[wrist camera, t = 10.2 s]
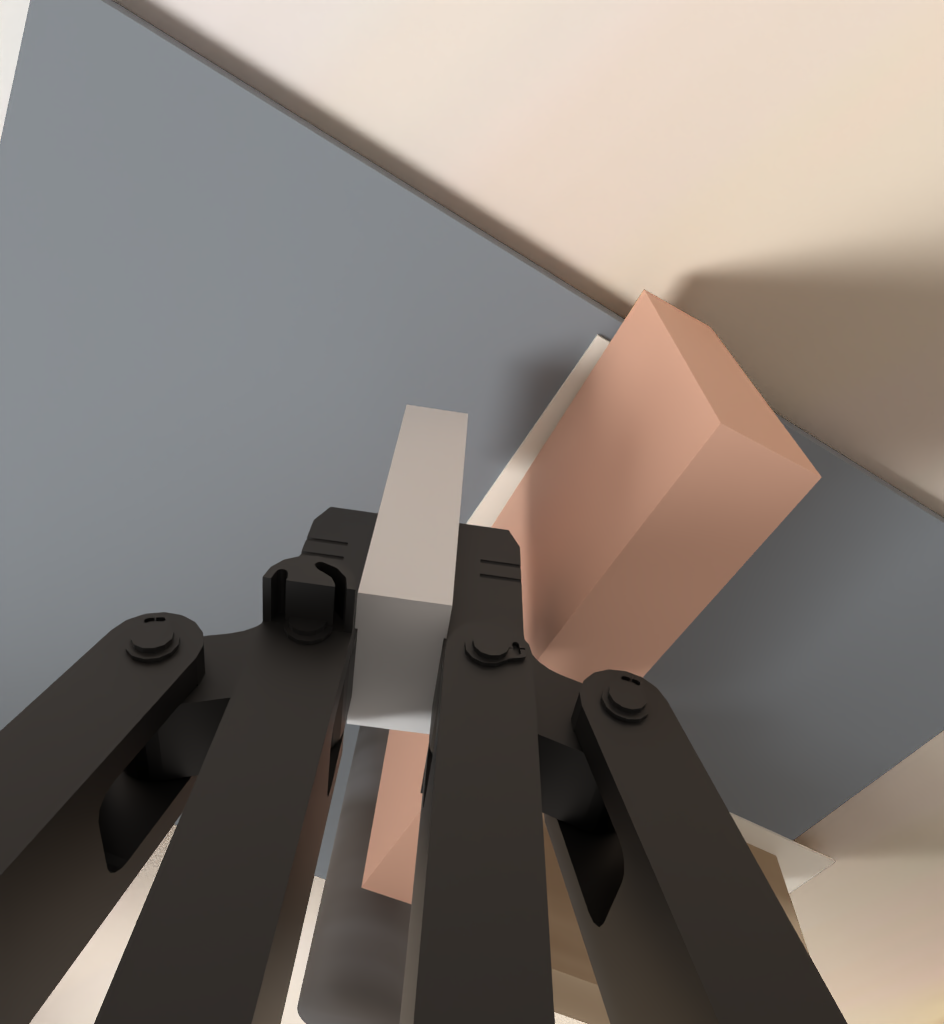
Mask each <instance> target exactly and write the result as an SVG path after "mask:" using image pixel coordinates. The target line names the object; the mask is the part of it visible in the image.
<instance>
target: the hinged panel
mask: <svg viewBox="0 0 944 1024" xmlns="http://www.w3.org/2000/svg"><path fill="white" fill-rule="evenodd" d="M820 479H821V476H820V474H819V473H818V471H817V470H816V469H815V467H814V466H813V465H812V463H811V462H810V461H809V459H808V458H807V457H806V455H805V454H804V453H803V451H802V450H801V448H800V447H799V446H798V444H797V443H796V442H795V440H794V439H793V438H792V436H791V435H790V434H789V432H788V431H787V430H786V428H785V427H784V425H783V424H782V423H781V421H780V420H779V419H778V417H777V416H776V415H775V413H774V412H773V411H772V409H771V408H770V407H769V405H768V404H767V403H766V401H765V400H764V398H763V397H762V396H761V394H760V393H759V392H758V390H757V389H756V388H755V386H754V385H753V384H752V382H751V381H750V380H749V378H748V377H747V375H746V374H745V373H744V371H743V370H742V369H741V367H740V366H739V365H738V363H737V362H736V361H735V359H734V358H733V357H732V355H731V354H730V353H729V351H728V350H727V348H726V347H725V346H724V344H723V343H722V342H721V340H720V339H719V338H718V336H717V335H716V334H715V332H714V331H713V330H712V328H711V327H709V326H708V325H706V324H704V323H702V322H701V321H699V320H697V319H695V318H694V317H692V316H690V315H688V314H687V313H685V312H683V311H681V310H679V309H678V308H676V307H674V306H672V305H671V304H669V303H667V302H665V301H664V300H662V299H660V298H658V297H657V296H655V295H653V294H651V293H649V292H648V291H646V290H643V292H642V293H641V295H640V296H639V298H638V300H637V301H636V303H635V304H634V306H633V307H632V309H631V310H630V312H629V314H628V315H627V317H626V318H625V320H624V321H623V323H622V324H621V326H620V328H619V329H618V331H617V332H616V334H615V335H614V337H613V338H612V340H611V342H610V343H609V345H608V346H607V348H606V349H605V351H604V352H603V354H602V356H601V357H600V359H599V360H598V362H597V363H596V365H595V366H594V368H593V370H592V371H591V373H590V374H589V376H588V377H587V379H586V380H585V382H584V384H583V385H582V387H581V388H580V390H579V391H578V393H577V394H576V396H575V398H574V399H573V401H572V402H571V404H570V405H569V407H568V408H567V410H566V412H565V413H564V415H563V416H562V418H561V419H560V421H559V422H558V424H557V426H556V427H555V429H554V430H553V432H552V433H551V435H550V436H549V438H548V440H547V441H546V443H545V444H544V446H543V447H542V449H541V450H540V452H539V454H538V455H537V457H536V458H535V460H534V461H533V463H532V464H531V466H530V468H529V469H528V471H527V472H526V474H525V475H524V477H523V478H522V480H521V482H520V483H519V485H518V486H517V488H516V489H515V491H514V492H513V494H512V496H511V497H510V499H509V500H508V502H507V503H506V505H505V507H504V508H503V510H502V511H501V513H500V514H499V516H498V517H497V519H496V521H495V522H494V524H493V525H492V527H491V528H498V529H505V530H509V531H510V533H511V534H512V536H513V537H514V539H515V540H516V542H517V543H518V545H519V546H520V557H521V567H520V568H521V583H522V604H523V628H524V638H525V641H526V642H527V643H528V644H529V646H530V649H531V652H532V655H533V656H534V657H535V658H536V659H537V660H538V661H539V662H540V663H541V664H543V665H544V666H546V667H547V668H548V669H550V670H552V671H554V672H556V673H558V674H560V675H563V676H565V677H568V678H570V679H573V680H576V681H578V682H581V683H583V681H584V680H585V679H586V678H587V677H589V676H590V675H591V674H593V673H594V672H599V671H603V670H608V669H611V670H621V671H627V672H629V673H632V674H635V675H637V676H640V677H642V678H643V676H644V675H645V674H646V673H647V672H648V671H649V670H650V669H651V668H652V666H653V665H654V664H655V663H656V662H657V661H658V660H659V659H660V657H661V656H662V655H663V654H664V653H665V652H666V651H667V650H668V649H669V647H670V646H671V645H672V644H673V643H674V642H675V641H676V640H677V638H678V637H679V636H680V635H681V634H682V633H683V632H684V631H685V630H686V628H687V627H688V626H689V625H690V624H691V623H692V622H693V621H694V619H695V618H696V617H697V616H698V615H699V614H700V613H701V612H702V611H703V609H704V608H705V607H706V606H707V605H708V604H709V603H710V602H711V600H712V599H713V598H714V597H715V596H716V595H717V594H718V593H719V592H720V590H721V589H722V588H723V587H724V586H725V585H726V584H727V583H728V581H729V580H730V579H731V578H732V577H733V576H734V575H735V574H736V572H737V571H738V570H739V569H740V568H741V567H742V566H743V565H744V564H745V562H746V561H747V560H748V559H749V558H750V557H751V556H752V555H753V553H754V552H755V551H756V550H757V549H758V548H759V547H760V546H761V545H762V543H763V542H764V541H765V540H766V539H767V538H768V537H769V536H770V534H771V533H772V532H773V531H774V530H775V529H776V528H777V527H778V526H779V524H780V523H781V522H782V521H783V520H784V519H785V518H786V517H787V515H788V514H789V513H790V512H791V511H792V510H793V509H794V508H795V507H796V505H797V504H798V503H799V502H800V501H801V500H802V499H803V498H804V496H805V495H806V494H807V493H808V492H809V491H810V490H811V489H812V488H813V486H814V485H815V484H816V483H817V482H818V481H819V480H820ZM428 745H429V734H423V733H415V732H407V731H399V730H391V729H389V735H388V740H387V746H386V752H385V757H384V763H383V769H382V774H381V780H380V785H379V791H378V797H377V802H376V808H375V814H374V819H373V825H372V830H371V836H370V842H369V847H368V853H367V858H366V864H365V870H364V875H363V881H362V887H361V888H364V889H367V890H370V891H373V892H376V893H379V894H382V895H385V896H388V897H391V898H394V899H397V900H400V901H403V902H406V903H409V904H412V894H413V884H414V874H415V864H416V854H417V844H418V834H419V823H420V813H421V803H422V793H420V792H421V786H422V780H423V774H424V768H425V763H426V757H427V751H428Z"/></svg>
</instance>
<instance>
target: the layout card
mask: <svg viewBox="0 0 944 1024" xmlns="http://www.w3.org/2000/svg"><path fill="white" fill-rule="evenodd" d="M624 320H625V319H623V318H622V317H620V316H619V315H617V314H615V313H614V312H612V311H611V310H609V309H607V308H606V307H604V306H602V305H601V304H599V303H598V302H596V301H594V300H593V299H591V298H590V297H588V296H586V295H585V294H583V293H582V292H580V291H578V290H577V289H575V288H574V287H572V286H570V285H569V284H567V283H566V282H564V281H562V280H561V279H559V278H558V277H556V276H554V275H553V274H551V273H549V272H548V271H546V270H545V269H543V268H541V267H540V266H538V265H537V264H535V263H533V262H532V261H530V260H529V259H527V258H525V257H524V256H522V255H521V254H519V253H517V252H516V251H514V250H513V249H511V248H509V247H508V246H506V245H505V244H503V243H501V242H500V241H498V240H496V239H495V238H493V237H492V236H490V235H488V234H487V233H485V232H484V231H482V230H480V229H479V228H477V227H476V226H474V225H472V224H471V223H469V222H468V221H466V220H464V219H463V218H461V217H460V216H458V215H456V214H455V213H453V212H451V211H450V210H448V209H447V208H445V207H443V206H442V205H440V204H439V203H437V202H435V201H434V200H432V199H431V198H429V197H427V196H426V195H424V194H423V193H421V192H419V191H418V190H416V189H415V188H413V187H411V186H410V185H408V184H407V183H405V182H403V181H402V180H400V179H398V178H397V177H395V176H394V175H392V174H390V173H389V172H387V171H386V170H384V169H382V168H381V167H379V166H378V165H376V164H374V163H373V162H371V161H370V160H368V159H366V158H365V157H363V156H362V155H360V154H358V153H357V152H355V151H354V150H352V149H350V148H349V147H347V146H345V145H344V144H342V143H341V142H339V141H337V140H336V139H334V138H333V137H331V136H329V135H328V134H326V133H325V132H323V131H321V130H320V129H318V128H317V127H315V126H313V125H312V124H310V123H309V122H307V121H305V120H304V119H302V118H301V117H299V116H297V115H296V114H294V113H292V112H291V111H289V110H288V109H286V108H284V107H283V106H281V105H280V104H278V103H276V102H275V101H273V100H272V99H270V98H268V97H267V96H265V95H264V94H262V93H260V92H259V91H257V90H256V89H254V88H252V87H251V86H249V85H247V84H246V83H244V82H243V81H241V80H239V79H238V78H236V77H235V76H233V75H231V74H230V73H228V72H227V71H225V70H223V69H222V68H220V67H219V66H217V65H215V64H214V63H212V62H211V61H209V60H207V59H206V58H204V57H203V56H201V55H199V54H198V53H196V52H194V51H193V50H191V49H190V48H188V47H186V46H185V45H183V44H182V43H180V42H178V41H177V40H175V39H174V38H172V37H170V36H169V35H167V34H166V33H164V32H162V31H161V30H159V29H158V28H156V27H154V26H153V25H151V24H150V23H148V22H146V21H145V20H143V19H141V18H140V17H138V16H137V15H135V14H133V13H132V12H130V11H129V10H127V9H125V8H124V7H122V6H121V5H119V4H117V3H116V2H114V1H113V0H30V4H29V9H28V14H27V19H26V23H25V28H24V33H23V37H22V42H21V47H20V52H19V56H18V61H17V66H16V70H15V75H14V80H13V85H12V89H11V94H10V99H9V103H8V108H7V113H6V118H5V122H4V127H3V132H2V136H1V141H0V731H1V730H2V729H3V728H4V727H5V726H6V725H7V724H8V723H9V722H11V721H12V720H13V719H14V718H15V717H16V716H17V715H18V714H19V713H20V712H22V711H23V710H24V709H25V708H26V707H27V706H28V705H29V704H30V703H31V702H33V701H34V700H35V699H36V698H37V697H38V696H39V695H40V694H41V693H42V692H44V691H45V690H46V689H47V688H48V687H49V686H50V685H51V684H52V683H53V682H55V681H56V680H57V679H58V678H59V677H60V676H61V675H62V674H63V673H64V672H66V671H67V670H68V669H69V668H70V667H71V666H72V665H73V664H74V663H75V662H77V661H78V660H79V659H80V658H81V657H82V656H83V655H84V654H85V653H86V652H88V651H89V650H90V649H91V648H92V647H93V646H94V645H95V644H96V643H97V642H99V641H100V640H101V639H102V638H103V637H104V636H105V635H106V634H107V633H108V632H110V631H111V630H112V629H113V628H115V627H116V626H118V625H119V624H121V623H122V622H124V621H126V620H127V619H131V618H134V617H137V616H140V615H143V614H147V613H159V612H167V613H173V614H179V615H183V616H185V617H187V618H189V619H191V620H192V621H194V622H196V624H197V625H198V626H199V628H200V629H201V630H202V632H203V636H208V635H218V634H229V633H234V632H240V631H245V630H247V629H250V628H253V627H256V626H258V625H260V624H261V623H262V621H263V589H262V577H263V576H264V574H265V573H266V572H267V571H268V569H269V568H270V567H271V566H273V565H275V564H277V563H279V562H280V561H282V560H284V559H289V558H293V557H298V556H300V554H301V551H302V548H303V546H304V543H305V541H306V540H307V536H308V533H309V531H310V528H311V526H312V523H313V520H314V519H316V518H317V517H318V516H319V515H321V514H322V513H323V512H324V511H326V510H327V509H328V508H330V507H337V508H344V509H351V510H358V511H365V512H372V513H379V509H380V505H381V501H382V497H383V494H384V490H385V486H386V482H387V478H388V474H389V471H390V467H391V463H392V459H393V455H394V451H395V447H396V444H397V440H398V436H399V432H400V428H401V424H402V421H403V417H404V413H405V409H406V405H413V406H420V407H426V408H433V409H440V410H446V411H453V412H460V413H466V414H468V422H467V434H466V446H465V458H464V470H463V482H462V494H461V506H460V518H459V523H462V524H470V525H477V526H484V527H492V525H493V524H494V522H495V521H496V519H497V517H498V516H499V514H500V513H501V511H502V510H503V508H504V507H505V505H506V503H507V502H508V500H509V499H510V497H511V496H512V494H513V492H514V491H515V489H516V488H517V486H518V485H519V483H520V482H521V480H522V478H523V477H524V475H525V474H526V472H527V471H528V469H529V468H530V466H531V464H532V463H533V461H534V460H535V458H536V457H537V455H538V454H539V452H540V450H541V449H542V447H543V446H544V444H545V443H546V441H547V440H548V438H549V436H550V435H551V433H552V432H553V430H554V429H555V427H556V426H557V424H558V422H559V421H560V419H561V418H562V416H563V415H564V413H565V412H566V410H567V408H568V407H569V405H570V404H571V402H572V401H573V399H574V398H575V396H576V394H577V393H578V391H579V390H580V388H581V387H582V385H583V384H584V382H585V380H586V379H587V377H588V376H589V374H590V373H591V371H592V370H593V368H594V366H595V365H596V363H597V362H598V360H599V359H600V357H601V356H602V354H603V352H604V351H605V349H606V348H607V346H608V345H609V343H610V342H611V340H612V338H613V337H614V335H615V334H616V332H617V331H618V329H619V328H620V326H621V324H622V323H623V321H624ZM775 415H776V416H777V417H778V419H779V420H780V421H781V423H782V424H783V425H784V427H785V428H786V430H787V431H788V432H789V434H790V435H791V436H792V438H793V439H794V440H795V442H796V443H797V444H798V446H799V447H800V448H801V450H802V451H803V453H804V454H805V455H806V457H807V458H808V459H809V461H810V462H811V463H812V465H813V466H814V467H815V469H816V470H817V471H818V473H819V474H820V476H821V479H820V480H819V481H818V482H817V483H816V484H815V485H814V486H813V488H812V489H811V490H810V491H809V492H808V493H807V494H806V495H805V496H804V498H803V499H802V500H801V501H800V502H799V503H798V504H797V505H796V507H795V508H794V509H793V510H792V511H791V512H790V513H789V514H788V515H787V517H786V518H785V519H784V520H783V521H782V522H781V523H780V524H779V526H778V527H777V528H776V529H775V530H774V531H773V532H772V533H771V534H770V536H769V537H768V538H767V539H766V540H765V541H764V542H763V543H762V545H761V546H760V547H759V548H758V549H757V550H756V551H755V552H754V553H753V555H752V556H751V557H750V558H749V559H748V560H747V561H746V562H745V564H744V565H743V566H742V567H741V568H740V569H739V570H738V571H737V572H736V574H735V575H734V576H733V577H732V578H731V579H730V580H729V581H728V583H727V584H726V585H725V586H724V587H723V588H722V589H721V590H720V592H719V593H718V594H717V595H716V596H715V597H714V598H713V599H712V600H711V602H710V603H709V604H708V605H707V606H706V607H705V608H704V609H703V611H702V612H701V613H700V614H699V615H698V616H697V617H696V618H695V619H694V621H693V622H692V623H691V624H690V625H689V626H688V627H687V628H686V630H685V631H684V632H683V633H682V634H681V635H680V636H679V637H678V638H677V640H676V641H675V642H674V643H673V644H672V645H671V646H670V647H669V649H668V650H667V651H666V652H665V653H664V654H663V655H662V656H661V657H660V659H659V660H658V661H657V662H656V663H655V664H654V665H653V666H652V668H651V669H650V670H649V671H648V672H647V673H646V674H645V675H644V676H643V678H644V679H645V680H647V681H648V682H650V683H651V684H652V685H654V686H655V687H657V689H658V690H659V691H660V692H661V694H662V695H663V696H664V697H665V698H666V700H667V701H668V703H669V705H670V707H671V708H672V710H673V712H674V714H675V716H676V717H677V719H678V721H679V723H680V725H681V726H682V728H683V730H684V732H685V734H686V735H687V737H688V739H689V741H690V743H691V744H692V746H693V748H694V750H695V752H696V753H697V755H698V757H699V759H700V760H701V762H702V764H703V766H704V768H705V769H706V771H707V773H708V775H709V777H710V778H711V780H712V782H713V784H714V786H715V787H716V789H717V791H718V793H719V795H720V796H721V798H722V800H723V802H724V803H725V805H726V807H727V809H728V811H729V812H730V814H731V816H732V818H733V820H734V821H735V823H736V825H737V827H738V829H739V830H740V832H741V834H742V836H743V838H744V839H745V841H746V843H748V844H751V845H753V846H755V847H758V848H760V849H762V850H764V851H767V852H769V853H771V854H773V855H776V857H777V860H778V863H779V866H780V869H781V872H782V875H783V878H784V881H785V884H786V887H787V890H788V893H791V892H792V891H794V890H795V889H797V888H798V887H800V886H801V885H803V884H804V883H805V882H807V881H808V880H810V879H811V878H813V877H814V876H816V875H817V874H819V873H820V872H822V871H823V870H824V869H826V868H827V867H829V866H830V865H832V864H833V863H835V860H834V859H832V858H830V857H828V856H826V855H824V854H821V853H819V852H817V851H815V850H812V849H810V848H808V847H806V846H804V845H801V844H799V843H797V842H795V841H793V840H794V839H796V838H797V837H798V836H800V835H801V834H802V833H804V832H805V831H807V830H808V829H809V828H811V827H812V826H813V825H815V824H816V823H818V822H819V821H820V820H822V819H823V818H824V817H826V816H827V815H828V814H830V813H831V812H833V811H834V810H835V809H837V808H838V807H839V806H841V805H842V804H843V803H845V802H846V801H848V800H849V799H850V798H852V797H853V796H854V795H856V794H857V793H859V792H860V791H861V790H863V789H864V788H865V787H867V786H868V785H869V784H871V783H872V782H874V781H875V780H876V779H878V778H879V777H880V776H882V775H883V774H884V773H886V772H887V771H889V770H890V769H891V768H893V767H894V766H895V765H897V764H898V763H900V762H901V761H902V760H904V759H905V758H906V757H908V756H909V755H910V754H912V753H913V752H915V751H916V750H917V749H919V748H920V747H921V746H923V745H924V744H925V743H927V742H928V741H930V740H931V739H932V738H934V737H935V736H936V735H938V734H939V733H940V732H942V731H943V730H944V518H943V517H941V516H940V515H938V514H937V513H935V512H933V511H932V510H930V509H929V508H927V507H925V506H924V505H922V504H921V503H919V502H917V501H916V500H914V499H912V498H911V497H909V496H908V495H906V494H904V493H903V492H901V491H900V490H898V489H896V488H895V487H893V486H892V485H890V484H888V483H887V482H885V481H884V480H882V479H880V478H879V477H877V476H876V475H874V474H872V473H871V472H869V471H868V470H866V469H864V468H863V467H861V466H859V465H858V464H856V463H855V462H853V461H851V460H850V459H848V458H847V457H845V456H843V455H842V454H840V453H839V452H837V451H835V450H834V449H832V448H831V447H829V446H827V445H826V444H824V443H823V442H821V441H819V440H818V439H816V438H815V437H813V436H811V435H810V434H808V433H806V432H805V431H803V430H802V429H800V428H798V427H797V426H795V425H794V424H792V423H790V422H789V421H787V420H786V419H784V418H782V417H781V416H779V415H778V414H776V413H775ZM359 728H360V725H353V724H347V720H346V724H345V729H344V738H343V750H342V756H341V760H340V765H339V769H338V773H337V778H336V782H335V786H334V791H333V795H332V800H331V804H330V808H329V813H328V817H327V822H326V826H325V830H324V835H323V839H322V844H321V848H320V852H319V857H318V861H317V866H316V870H315V874H314V876H317V877H320V878H323V879H325V880H326V876H327V872H328V867H329V863H330V858H331V854H332V849H333V845H334V840H335V836H336V831H337V827H338V822H339V818H340V813H341V809H342V804H343V800H344V795H345V791H346V786H347V782H348V777H349V773H350V768H351V764H352V759H353V755H354V750H355V746H356V741H357V737H358V732H359ZM181 815H182V814H181ZM181 815H180V817H181ZM180 817H179V818H178V819H177V821H176V822H175V823H174V824H175V825H177V824H178V822H179V820H180Z"/></svg>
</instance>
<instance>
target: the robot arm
mask: <svg viewBox="0 0 944 1024" xmlns="http://www.w3.org/2000/svg"><path fill="white" fill-rule="evenodd" d="M467 422H468V414H466V413H460V412H453V411H446V410H440V409H433V408H426V407H420V406H413V405H406V409H405V413H404V417H403V421H402V424H401V428H400V432H399V436H398V440H397V444H396V447H395V451H394V455H393V459H392V463H391V467H390V471H389V474H388V478H387V482H386V486H385V490H384V494H383V497H382V501H381V505H380V509H379V513H372V512H365V511H358V510H351V509H344V508H337V507H330V508H328V509H327V510H326V511H324V512H323V513H322V514H321V515H319V516H318V517H317V518H316V519H314V520H313V523H312V526H311V528H310V531H309V533H308V536H307V540H306V541H305V543H304V546H303V548H302V551H301V554H300V556H298V557H293V558H289V559H284V560H282V561H280V562H279V563H277V564H275V565H273V566H271V567H270V568H269V569H268V571H267V572H266V573H265V574H264V576H263V577H262V589H263V621H262V623H261V624H260V625H258V626H256V627H253V628H250V629H247V630H245V631H240V632H234V633H229V634H218V635H208V636H203V632H202V630H201V629H200V628H199V626H198V625H197V624H196V622H194V621H192V620H191V619H189V618H187V617H185V616H183V615H179V614H173V613H167V612H159V613H147V614H143V615H140V616H137V617H134V618H131V619H127V620H126V621H124V622H122V623H121V624H119V625H118V626H116V627H115V628H113V629H112V630H111V631H110V632H108V633H107V634H106V635H105V636H104V637H103V638H102V639H101V640H100V641H99V642H97V643H96V644H95V645H94V646H93V647H92V648H91V649H90V650H89V651H88V652H86V653H85V654H84V655H83V656H82V657H81V658H80V659H79V660H78V661H77V662H75V663H74V664H73V665H72V666H71V667H70V668H69V669H68V670H67V671H66V672H64V673H63V674H62V675H61V676H60V677H59V678H58V679H57V680H56V681H55V682H53V683H52V684H51V685H50V686H49V687H48V688H47V689H46V690H45V691H44V692H42V693H41V694H40V695H39V696H38V697H37V698H36V699H35V700H34V701H33V702H31V703H30V704H29V705H28V706H27V707H26V708H25V709H24V710H23V711H22V712H20V713H19V714H18V715H17V716H16V717H15V718H14V719H13V720H12V721H11V722H9V723H8V724H7V725H6V726H5V727H4V728H3V729H2V730H1V731H0V1024H29V1023H30V1022H31V1020H32V1019H33V1018H34V1016H35V1015H36V1013H37V1012H38V1011H39V1009H40V1008H41V1007H42V1005H43V1004H44V1002H45V1001H46V1000H47V998H48V997H49V996H50V994H51V993H52V991H53V990H54V989H55V987H56V986H57V985H58V983H59V982H60V980H61V979H62V978H63V976H64V975H65V974H66V972H67V971H68V969H69V968H70V967H71V965H72V964H73V962H74V961H75V960H76V958H77V957H78V956H79V954H80V953H81V951H82V950H83V949H84V947H85V946H86V945H87V943H88V942H89V940H90V939H91V938H92V936H93V935H94V934H95V932H96V931H97V929H98V928H99V927H100V925H101V924H102V923H103V921H104V920H105V918H106V917H107V916H108V914H109V913H110V912H111V910H112V909H113V907H114V906H115V905H116V903H117V902H118V901H119V899H120V898H121V896H122V895H123V894H124V892H125V891H126V890H127V888H128V887H129V885H130V884H131V883H132V881H133V880H134V878H135V877H136V876H137V874H138V873H139V872H140V870H141V869H142V867H143V866H144V865H145V863H146V862H147V861H148V859H149V858H150V856H151V855H152V854H153V852H154V851H155V850H156V848H157V847H158V845H159V844H160V843H161V841H162V840H163V839H164V837H165V836H166V834H167V833H168V832H169V830H170V829H171V828H172V826H173V825H174V823H175V822H176V821H177V819H178V818H179V817H180V815H181V814H182V815H181V817H180V820H179V822H178V824H177V827H176V829H175V832H174V834H173V836H172V839H171V841H170V844H169V846H168V848H167V851H166V853H165V855H164V858H163V860H162V863H161V865H160V867H159V870H158V872H157V875H156V877H155V879H154V882H153V884H152V887H151V889H150V891H149V894H148V896H147V898H146V901H145V903H144V906H143V908H142V910H141V913H140V915H139V918H138V920H137V922H136V925H135V927H134V930H133V932H132V934H131V937H130V939H129V941H128V944H127V946H126V949H125V951H124V953H123V956H122V958H121V961H120V963H119V965H118V968H117V970H116V973H115V975H114V977H113V980H112V982H111V984H110V987H109V989H108V992H107V994H106V996H105V999H104V1001H103V1004H102V1006H101V1008H100V1011H99V1013H98V1016H97V1018H96V1020H95V1023H94V1024H281V1019H282V1015H283V1010H284V1006H285V1002H286V997H287V993H288V988H289V984H290V980H291V975H292V971H293V967H294V962H295V958H296V953H297V949H298V945H299V940H300V936H301V931H302V927H303V923H304V918H305V914H306V909H307V905H308V901H309V896H310V892H311V887H312V883H313V879H314V874H315V870H316V866H317V861H318V857H319V852H320V848H321V844H322V839H323V835H324V830H325V826H326V822H327V817H328V813H329V808H330V804H331V800H332V795H333V791H334V786H335V782H336V778H337V773H338V769H339V765H340V760H341V756H342V750H343V738H344V729H345V724H346V720H347V724H353V725H361V726H369V727H377V728H384V729H391V730H399V731H407V732H415V733H423V734H429V745H428V751H427V757H426V763H425V768H424V774H423V780H422V786H421V792H420V793H422V803H421V813H420V823H419V834H418V844H417V854H416V864H415V874H414V884H413V894H412V904H411V914H410V924H409V934H408V944H407V954H406V964H405V974H404V984H403V994H402V1004H401V1014H400V1024H555V1019H554V1002H553V985H552V968H551V951H550V934H549V917H548V900H547V884H546V867H545V850H544V833H543V816H542V813H544V820H545V824H546V827H547V830H548V833H549V836H550V839H551V842H552V846H553V849H554V852H555V855H556V858H557V861H558V864H559V867H560V870H561V873H562V876H563V879H564V883H565V886H566V889H567V892H568V895H569V898H570V901H571V904H572V907H573V910H574V913H575V916H576V920H577V923H578V926H579V929H580V932H581V935H582V938H583V941H584V944H585V947H586V950H587V953H588V956H589V960H590V963H591V966H592V969H593V972H594V975H595V978H596V981H597V984H598V987H599V990H600V993H601V997H602V1000H603V1003H604V1006H605V1009H606V1012H607V1015H608V1018H609V1021H610V1024H847V1022H846V1020H845V1019H844V1017H843V1015H842V1013H841V1011H840V1010H839V1008H838V1006H837V1004H836V1002H835V1001H834V999H833V997H832V995H831V993H830V992H829V990H828V988H827V986H826V985H825V983H824V981H823V979H822V977H821V976H820V974H819V972H818V970H817V968H816V967H815V965H814V963H813V961H812V959H811V958H810V956H809V954H808V952H807V950H806V949H805V947H804V945H803V943H802V941H801V940H800V938H799V936H798V934H797V933H796V931H795V929H794V927H793V925H792V924H791V922H790V920H789V918H788V916H787V915H786V913H785V911H784V909H783V907H782V906H781V904H780V902H779V900H778V898H777V897H776V895H775V893H774V891H773V890H772V888H771V886H770V884H769V882H768V881H767V879H766V877H765V875H764V873H763V872H762V870H761V868H760V866H759V864H758V863H757V861H756V859H755V857H754V855H753V854H752V852H751V850H750V848H749V846H748V845H747V843H746V841H745V839H744V838H743V836H742V834H741V832H740V830H739V829H738V827H737V825H736V823H735V821H734V820H733V818H732V816H731V814H730V812H729V811H728V809H727V807H726V805H725V803H724V802H723V800H722V798H721V796H720V795H719V793H718V791H717V789H716V787H715V786H714V784H713V782H712V780H711V778H710V777H709V775H708V773H707V771H706V769H705V768H704V766H703V764H702V762H701V760H700V759H699V757H698V755H697V753H696V752H695V750H694V748H693V746H692V744H691V743H690V741H689V739H688V737H687V735H686V734H685V732H684V730H683V728H682V726H681V725H680V723H679V721H678V719H677V717H676V716H675V714H674V712H673V710H672V708H671V707H670V705H669V703H668V701H667V700H666V698H665V697H664V696H663V695H662V694H661V692H660V691H659V690H658V689H657V687H655V686H654V685H652V684H651V683H650V682H648V681H647V680H645V679H644V678H642V677H640V676H637V675H635V674H632V673H629V672H627V671H621V670H611V669H608V670H603V671H599V672H594V673H593V674H591V675H590V676H589V677H587V678H586V679H585V680H584V681H583V683H581V682H578V681H576V680H573V679H570V678H568V677H565V676H563V675H560V674H558V673H556V672H554V671H552V670H550V669H548V668H547V667H546V666H544V665H543V664H541V663H540V662H539V661H538V660H537V659H536V658H535V657H534V656H533V655H532V652H531V649H530V646H529V644H528V643H527V642H526V641H525V638H524V628H523V604H522V583H521V568H520V567H521V557H520V546H519V545H518V543H517V542H516V540H515V539H514V537H513V536H512V534H511V533H510V531H509V530H505V529H498V528H491V527H484V526H477V525H470V524H462V523H459V518H460V506H461V494H462V482H463V470H464V458H465V446H466V434H467Z"/></svg>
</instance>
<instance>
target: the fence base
mask: <svg viewBox="0 0 944 1024" xmlns="http://www.w3.org/2000/svg"><path fill="white" fill-rule="evenodd" d="M388 735H389V729H384V728H377V727H369V726H361V725H360V728H359V732H358V737H357V741H356V746H355V750H354V755H353V759H352V764H351V768H350V773H349V777H348V782H347V786H346V791H345V795H344V800H343V804H342V809H341V813H340V818H339V822H338V827H337V831H336V836H335V840H334V845H333V849H332V854H331V858H330V863H329V867H328V872H327V876H326V880H325V885H324V889H323V894H322V898H321V903H320V907H319V912H318V916H317V921H316V925H315V930H314V934H313V939H312V943H311V948H310V952H309V957H308V961H307V966H306V970H305V975H304V979H303V984H302V988H301V993H300V997H299V1002H298V1007H297V1009H298V1013H299V1016H300V1017H301V1019H302V1020H303V1021H304V1022H305V1023H306V1024H400V1014H401V1004H402V994H403V984H404V974H405V964H406V954H407V944H408V934H409V924H410V914H411V904H409V903H406V902H403V901H400V900H397V899H394V898H391V897H388V896H385V895H382V894H379V893H376V892H373V891H370V890H367V889H364V888H361V887H362V881H363V875H364V870H365V864H366V858H367V853H368V847H369V842H370V836H371V830H372V825H373V819H374V814H375V808H376V802H377V797H378V791H379V785H380V780H381V774H382V769H383V763H384V757H385V752H386V746H387V740H388ZM542 816H543V833H544V850H545V867H546V884H547V900H548V917H549V934H550V951H551V968H552V985H553V1002H554V1012H556V1013H559V1014H562V1015H565V1016H567V1017H570V1018H573V1019H576V1020H579V1021H582V1022H585V1023H588V1024H610V1021H609V1018H608V1015H607V1012H606V1009H605V1006H604V1003H603V1000H602V997H601V993H600V990H599V987H598V984H597V981H596V978H595V975H594V972H593V969H592V966H591V963H590V960H589V956H588V953H587V950H586V947H585V944H584V941H583V938H582V935H581V932H580V929H579V926H578V923H577V920H576V916H575V913H574V910H573V907H572V904H571V901H570V898H569V895H568V892H567V889H566V886H565V883H564V879H563V876H562V873H561V870H560V867H559V864H558V861H557V858H556V855H555V852H554V849H553V846H552V842H551V839H550V836H549V833H548V830H547V827H546V824H545V820H544V813H542ZM747 845H748V846H749V848H750V850H751V852H752V854H753V855H754V857H755V859H756V861H757V863H758V864H759V866H760V868H761V870H762V872H763V873H764V875H765V877H766V879H767V881H768V882H769V884H770V886H771V888H772V890H773V891H774V893H775V895H776V897H777V898H778V900H779V902H780V904H781V906H782V907H783V909H784V911H785V913H786V915H787V916H788V918H789V920H790V922H791V924H792V925H793V927H794V929H795V931H796V933H797V934H798V936H799V938H800V940H801V941H802V943H803V945H804V947H805V949H806V950H807V947H806V944H805V941H804V938H803V935H802V932H801V929H800V926H799V923H798V920H797V917H796V914H795V911H794V908H793V905H792V902H791V899H790V896H789V893H788V890H787V887H786V884H785V881H784V878H783V875H782V872H781V869H780V866H779V863H778V860H777V857H776V855H773V854H771V853H769V852H767V851H764V850H762V849H760V848H758V847H755V846H753V845H751V844H748V843H747ZM807 952H808V950H807ZM808 954H809V953H808Z"/></svg>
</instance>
